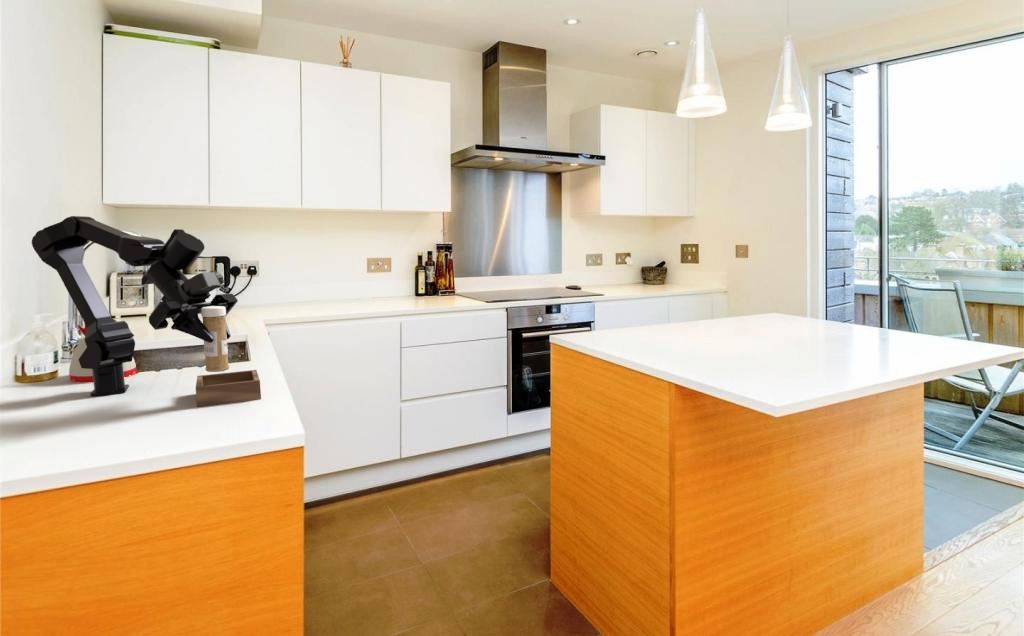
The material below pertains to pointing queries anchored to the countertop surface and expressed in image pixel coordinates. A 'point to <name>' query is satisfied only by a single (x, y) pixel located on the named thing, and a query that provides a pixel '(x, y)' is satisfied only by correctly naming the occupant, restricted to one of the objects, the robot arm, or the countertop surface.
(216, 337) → the sprinkles bottle
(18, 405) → the countertop surface
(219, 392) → the walnut crate
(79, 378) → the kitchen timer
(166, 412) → the countertop surface
